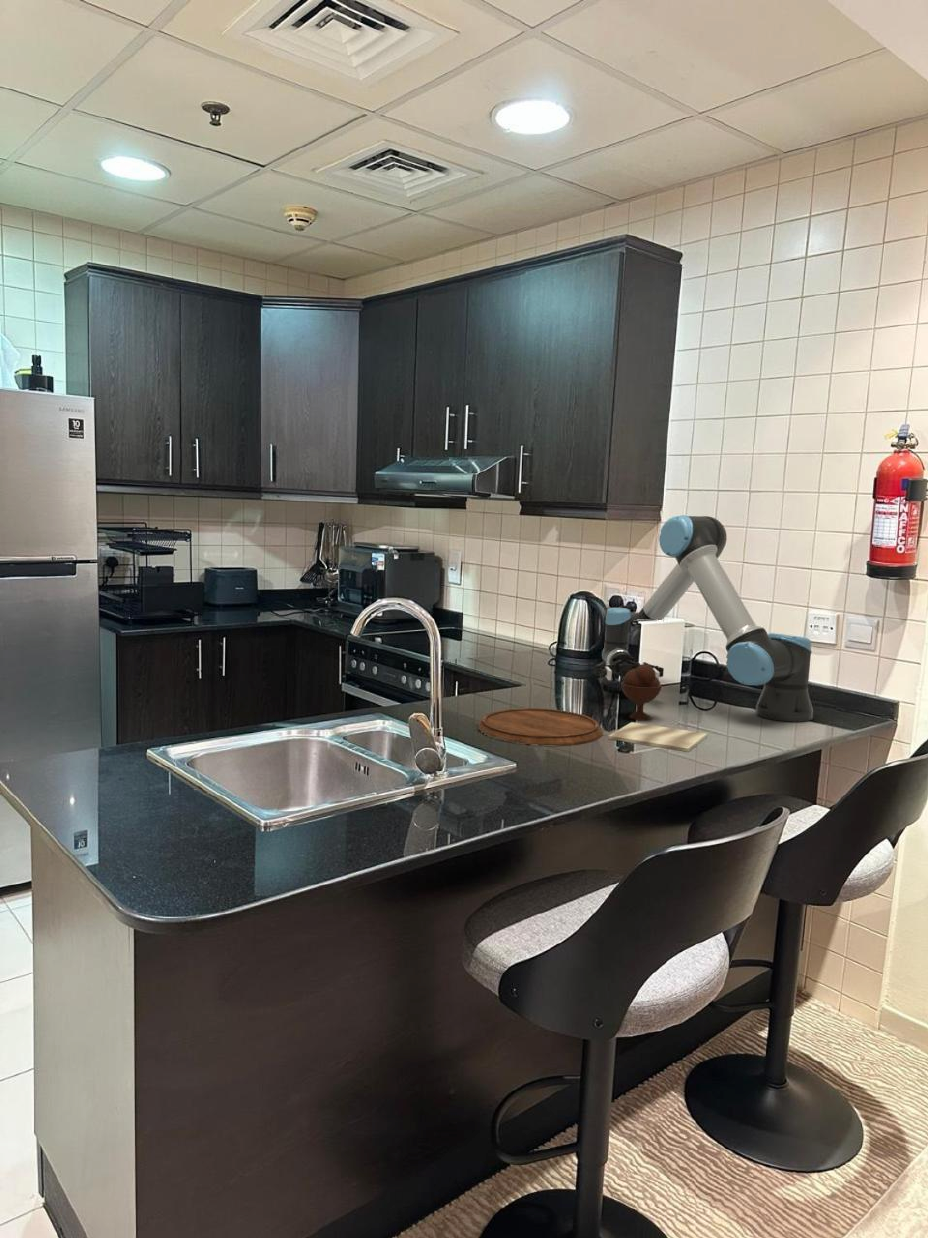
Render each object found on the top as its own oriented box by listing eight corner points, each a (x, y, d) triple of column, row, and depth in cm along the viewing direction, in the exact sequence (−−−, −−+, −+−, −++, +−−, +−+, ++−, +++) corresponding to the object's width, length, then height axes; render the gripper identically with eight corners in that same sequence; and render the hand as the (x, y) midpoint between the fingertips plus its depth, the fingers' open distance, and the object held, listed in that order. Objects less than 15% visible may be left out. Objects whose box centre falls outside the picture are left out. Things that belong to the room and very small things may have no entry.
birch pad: (707, 736, 220) (707, 733, 220) (688, 751, 205) (688, 748, 205) (631, 725, 230) (631, 722, 230) (608, 738, 215) (608, 735, 215)
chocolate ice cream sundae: (663, 716, 241) (666, 662, 239) (654, 724, 231) (657, 669, 229) (625, 711, 246) (628, 659, 244) (615, 719, 236) (617, 665, 234)
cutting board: (552, 755, 200) (552, 745, 200) (451, 729, 222) (451, 720, 221) (627, 732, 224) (627, 722, 224) (529, 710, 245) (529, 702, 245)
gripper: (660, 676, 269) (677, 690, 248) (579, 673, 269) (589, 687, 248) (662, 652, 268) (678, 664, 247) (581, 649, 268) (590, 662, 247)
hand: (634, 676), depth 247 cm, fingers open, 13 cm apart
